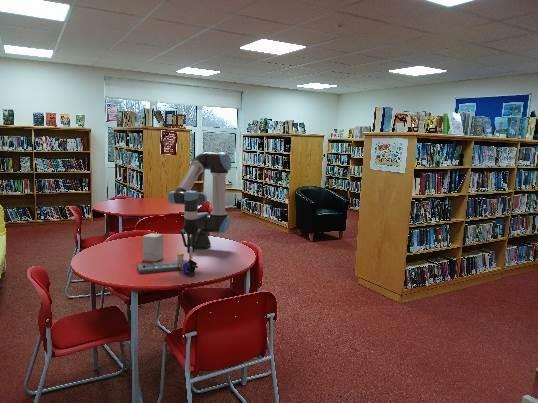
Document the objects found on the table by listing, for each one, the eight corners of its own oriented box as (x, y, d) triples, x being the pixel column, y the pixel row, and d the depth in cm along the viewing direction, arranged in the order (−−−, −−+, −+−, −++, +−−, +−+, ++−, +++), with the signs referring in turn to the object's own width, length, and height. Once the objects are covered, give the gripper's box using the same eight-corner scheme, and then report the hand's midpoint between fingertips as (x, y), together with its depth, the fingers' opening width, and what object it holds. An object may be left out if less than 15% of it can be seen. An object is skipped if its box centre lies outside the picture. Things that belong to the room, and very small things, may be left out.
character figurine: (188, 279, 216) (177, 271, 229) (200, 275, 220) (189, 268, 233) (187, 264, 215) (176, 258, 227) (199, 261, 219) (188, 255, 231)
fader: (182, 262, 237) (182, 252, 236) (183, 263, 235) (183, 254, 234) (177, 262, 236) (177, 253, 235) (177, 264, 233) (177, 254, 233)
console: (187, 263, 243) (187, 258, 242) (191, 269, 232) (191, 264, 231) (137, 267, 233) (137, 262, 232) (139, 273, 222) (139, 268, 221)
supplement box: (164, 258, 252) (163, 234, 250) (155, 262, 244) (155, 237, 241) (151, 256, 255) (151, 232, 253) (142, 260, 246) (142, 235, 244)
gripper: (200, 216, 240) (200, 255, 243) (178, 217, 235) (178, 257, 238) (203, 218, 233) (203, 259, 236) (180, 219, 228) (180, 261, 231)
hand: (190, 258), depth 237 cm, fingers closed
